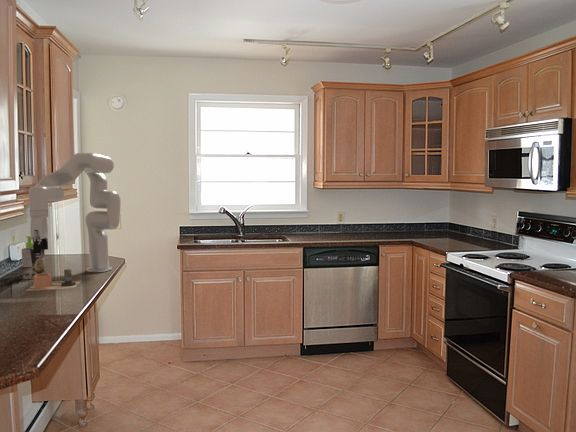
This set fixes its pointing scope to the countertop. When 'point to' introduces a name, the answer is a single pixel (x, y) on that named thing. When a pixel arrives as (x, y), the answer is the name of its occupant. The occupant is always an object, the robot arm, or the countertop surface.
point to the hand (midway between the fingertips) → (40, 251)
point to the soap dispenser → (29, 242)
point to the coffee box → (32, 263)
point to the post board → (60, 283)
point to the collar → (42, 280)
